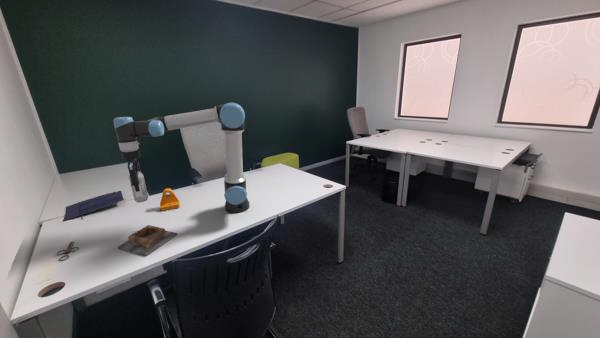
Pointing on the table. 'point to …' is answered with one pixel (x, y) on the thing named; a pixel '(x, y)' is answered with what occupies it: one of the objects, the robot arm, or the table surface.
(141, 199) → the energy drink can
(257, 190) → the table surface
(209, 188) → the table surface
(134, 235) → the can holder
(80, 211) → the navy blue flat panel
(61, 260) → the grey scissors
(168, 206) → the bracket
